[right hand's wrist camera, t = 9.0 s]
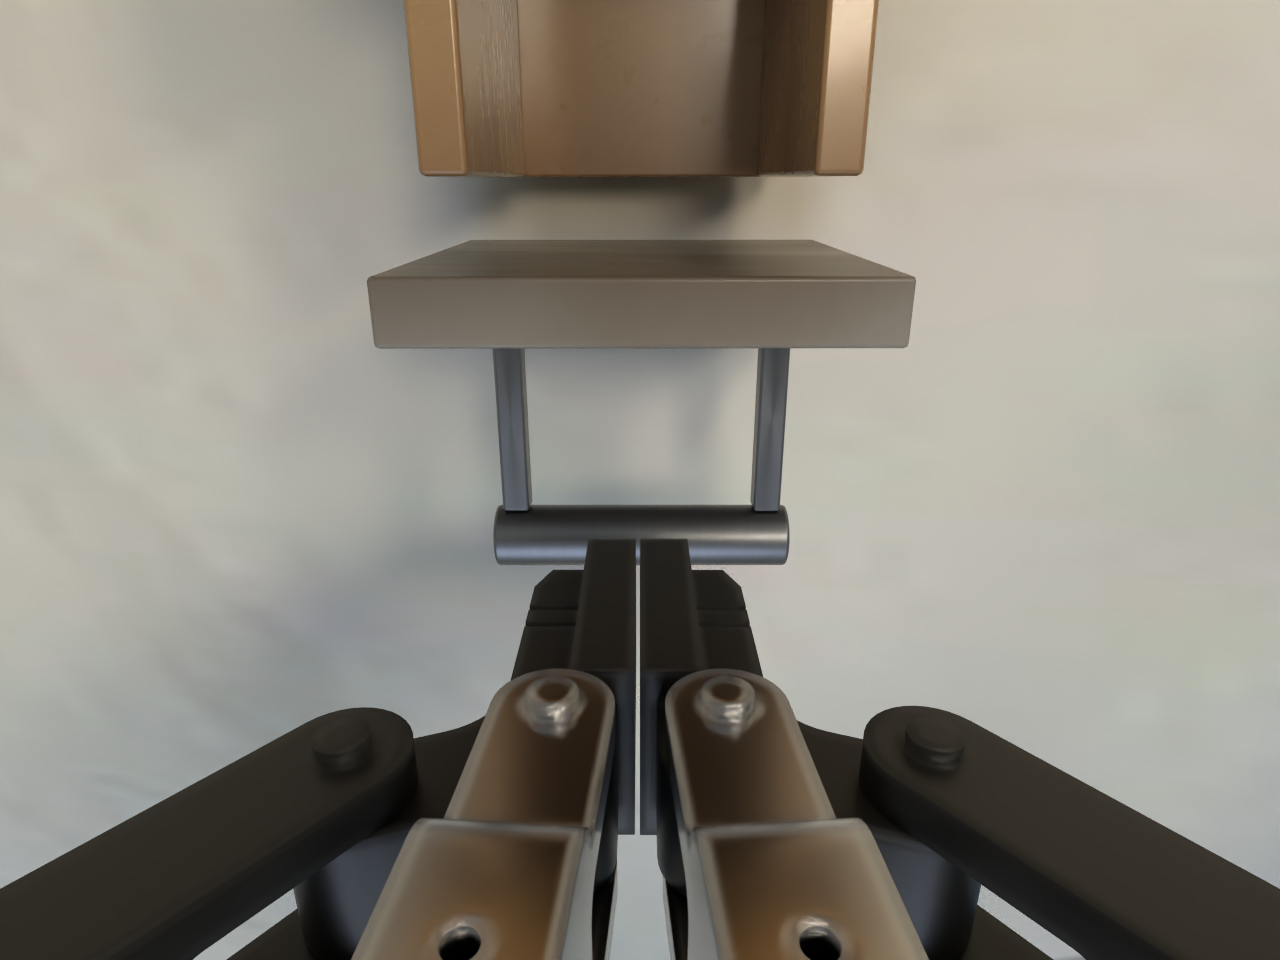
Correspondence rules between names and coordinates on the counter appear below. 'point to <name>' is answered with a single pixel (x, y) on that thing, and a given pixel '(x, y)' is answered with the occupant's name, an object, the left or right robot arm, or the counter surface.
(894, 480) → the counter surface
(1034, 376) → the counter surface
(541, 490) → the counter surface
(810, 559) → the counter surface
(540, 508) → the drawer
